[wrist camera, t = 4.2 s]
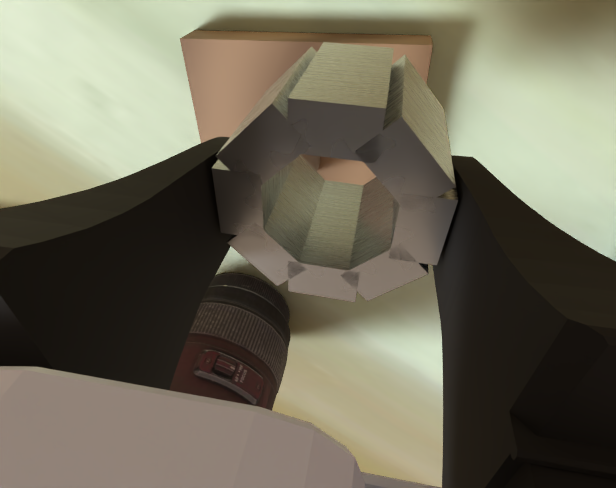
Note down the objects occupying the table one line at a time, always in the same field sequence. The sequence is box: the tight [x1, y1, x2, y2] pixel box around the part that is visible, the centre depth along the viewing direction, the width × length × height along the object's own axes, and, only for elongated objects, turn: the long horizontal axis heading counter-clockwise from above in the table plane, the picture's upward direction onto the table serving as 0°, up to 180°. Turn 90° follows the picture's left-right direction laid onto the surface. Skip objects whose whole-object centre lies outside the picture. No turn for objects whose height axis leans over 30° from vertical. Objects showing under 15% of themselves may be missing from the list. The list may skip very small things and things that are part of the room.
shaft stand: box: [180, 30, 433, 185], centre depth 18 cm, size 10×10×6 cm
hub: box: [212, 42, 458, 302], centre depth 10 cm, size 5×5×4 cm
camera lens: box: [169, 273, 290, 411], centre depth 23 cm, size 8×8×15 cm
